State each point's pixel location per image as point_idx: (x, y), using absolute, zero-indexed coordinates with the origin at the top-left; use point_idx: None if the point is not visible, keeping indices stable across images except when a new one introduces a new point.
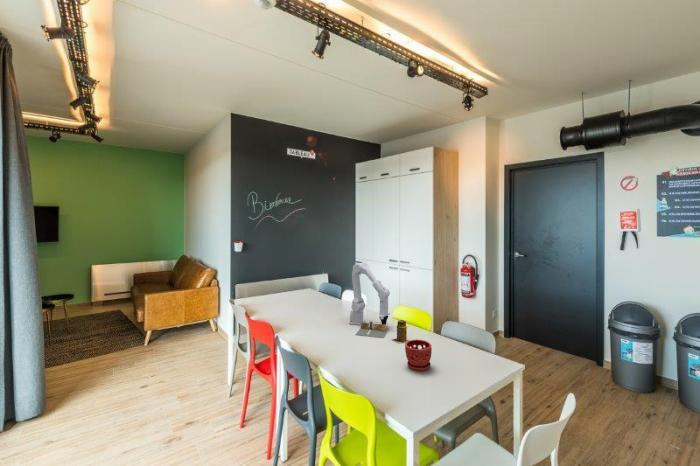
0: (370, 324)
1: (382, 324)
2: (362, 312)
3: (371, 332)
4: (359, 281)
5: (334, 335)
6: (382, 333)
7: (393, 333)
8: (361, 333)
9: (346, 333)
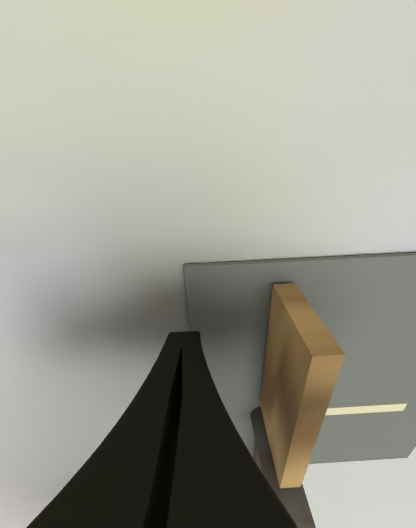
0: (301, 488)
1: (313, 406)
2: None
3: (352, 393)
4: None
5: (401, 508)
6: (385, 300)
7: (355, 151)
8: (381, 438)
9: (366, 486)
